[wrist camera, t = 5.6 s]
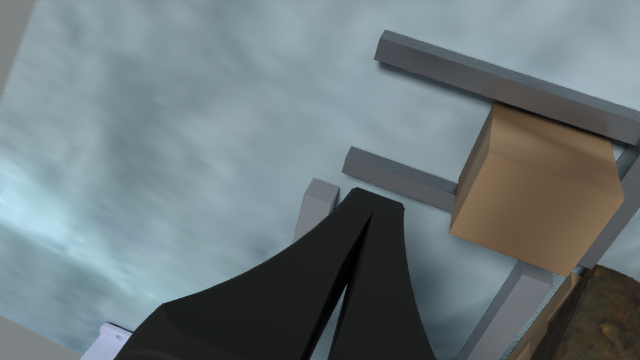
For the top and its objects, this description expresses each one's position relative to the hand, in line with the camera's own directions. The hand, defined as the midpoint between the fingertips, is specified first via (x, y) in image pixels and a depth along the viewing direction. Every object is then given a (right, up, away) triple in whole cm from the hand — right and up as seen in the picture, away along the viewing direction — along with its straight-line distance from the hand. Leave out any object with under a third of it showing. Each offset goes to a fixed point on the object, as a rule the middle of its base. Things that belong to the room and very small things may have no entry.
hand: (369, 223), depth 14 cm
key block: (+6, +2, +5) cm, 9 cm away
